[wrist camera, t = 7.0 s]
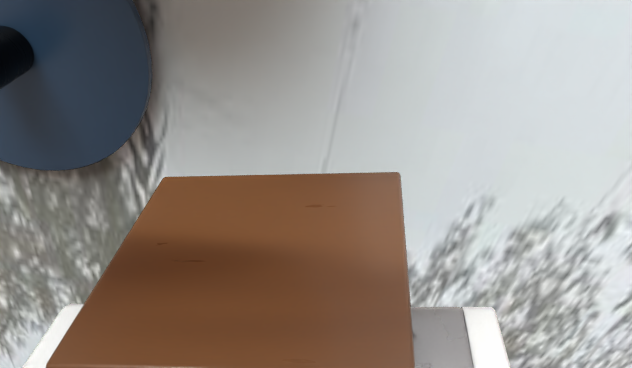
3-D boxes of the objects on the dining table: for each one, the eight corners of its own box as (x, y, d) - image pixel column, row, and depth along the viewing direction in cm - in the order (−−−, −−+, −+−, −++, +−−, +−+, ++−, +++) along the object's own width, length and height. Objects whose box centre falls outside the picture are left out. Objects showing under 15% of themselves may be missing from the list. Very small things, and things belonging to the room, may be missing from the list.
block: (399, 342, 12) (411, 566, 8) (206, 339, 12) (134, 549, 9) (400, 171, 10) (417, 375, 6) (162, 175, 10) (41, 367, 6)
